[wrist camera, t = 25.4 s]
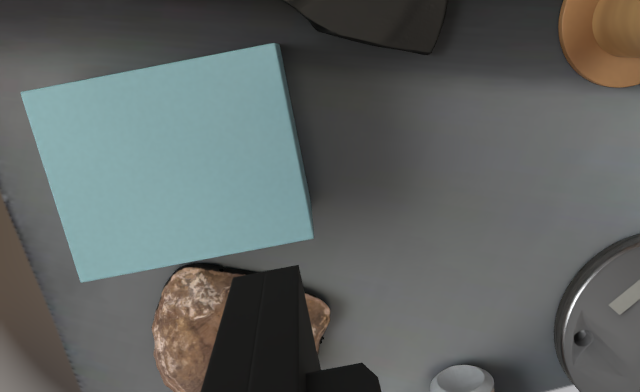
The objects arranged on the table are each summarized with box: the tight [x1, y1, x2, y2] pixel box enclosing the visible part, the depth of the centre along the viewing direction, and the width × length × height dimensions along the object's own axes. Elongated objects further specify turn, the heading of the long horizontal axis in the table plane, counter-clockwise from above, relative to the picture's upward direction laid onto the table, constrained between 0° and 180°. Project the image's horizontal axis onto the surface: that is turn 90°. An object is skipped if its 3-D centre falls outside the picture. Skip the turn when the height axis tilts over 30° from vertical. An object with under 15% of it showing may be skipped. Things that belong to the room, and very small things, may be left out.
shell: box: [152, 264, 330, 392], centre depth 42 cm, size 12×13×4 cm
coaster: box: [558, 0, 640, 88], centre depth 39 cm, size 9×9×1 cm
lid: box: [21, 43, 314, 282], centre depth 33 cm, size 14×12×1 cm
